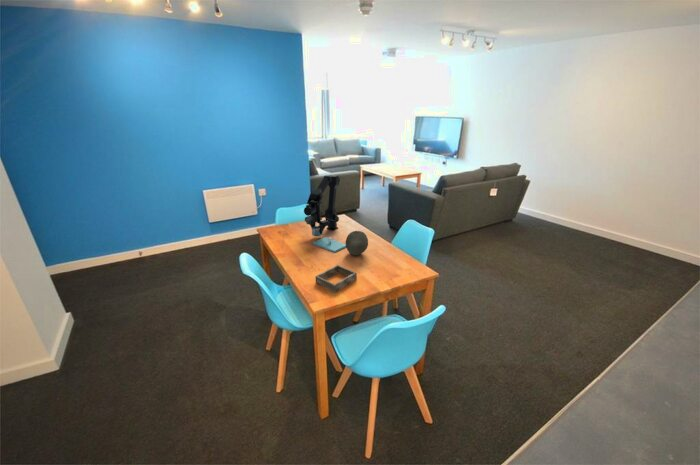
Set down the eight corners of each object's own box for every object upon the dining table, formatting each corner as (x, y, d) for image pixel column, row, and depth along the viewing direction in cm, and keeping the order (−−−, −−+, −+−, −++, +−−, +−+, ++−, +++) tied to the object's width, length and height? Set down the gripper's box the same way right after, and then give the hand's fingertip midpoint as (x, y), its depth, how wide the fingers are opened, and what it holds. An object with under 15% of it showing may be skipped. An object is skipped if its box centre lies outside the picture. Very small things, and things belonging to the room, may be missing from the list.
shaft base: (325, 238, 207) (325, 231, 205) (347, 246, 195) (347, 239, 193) (312, 244, 199) (312, 236, 197) (334, 252, 186) (334, 245, 185)
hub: (317, 231, 211) (317, 225, 209) (324, 234, 207) (324, 227, 205) (310, 234, 206) (309, 227, 205) (317, 237, 202) (316, 230, 200)
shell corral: (337, 271, 165) (337, 264, 163) (356, 279, 157) (356, 272, 155) (315, 283, 153) (315, 276, 152) (334, 292, 145) (334, 285, 144)
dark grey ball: (341, 256, 181) (340, 233, 176) (351, 247, 193) (351, 226, 187) (362, 261, 175) (362, 238, 170) (372, 252, 187) (372, 230, 181)
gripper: (297, 211, 201) (299, 232, 206) (317, 217, 189) (318, 239, 195) (310, 207, 208) (311, 228, 214) (329, 213, 197) (330, 234, 203)
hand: (317, 232), depth 206 cm, fingers closed on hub, 7 cm apart
